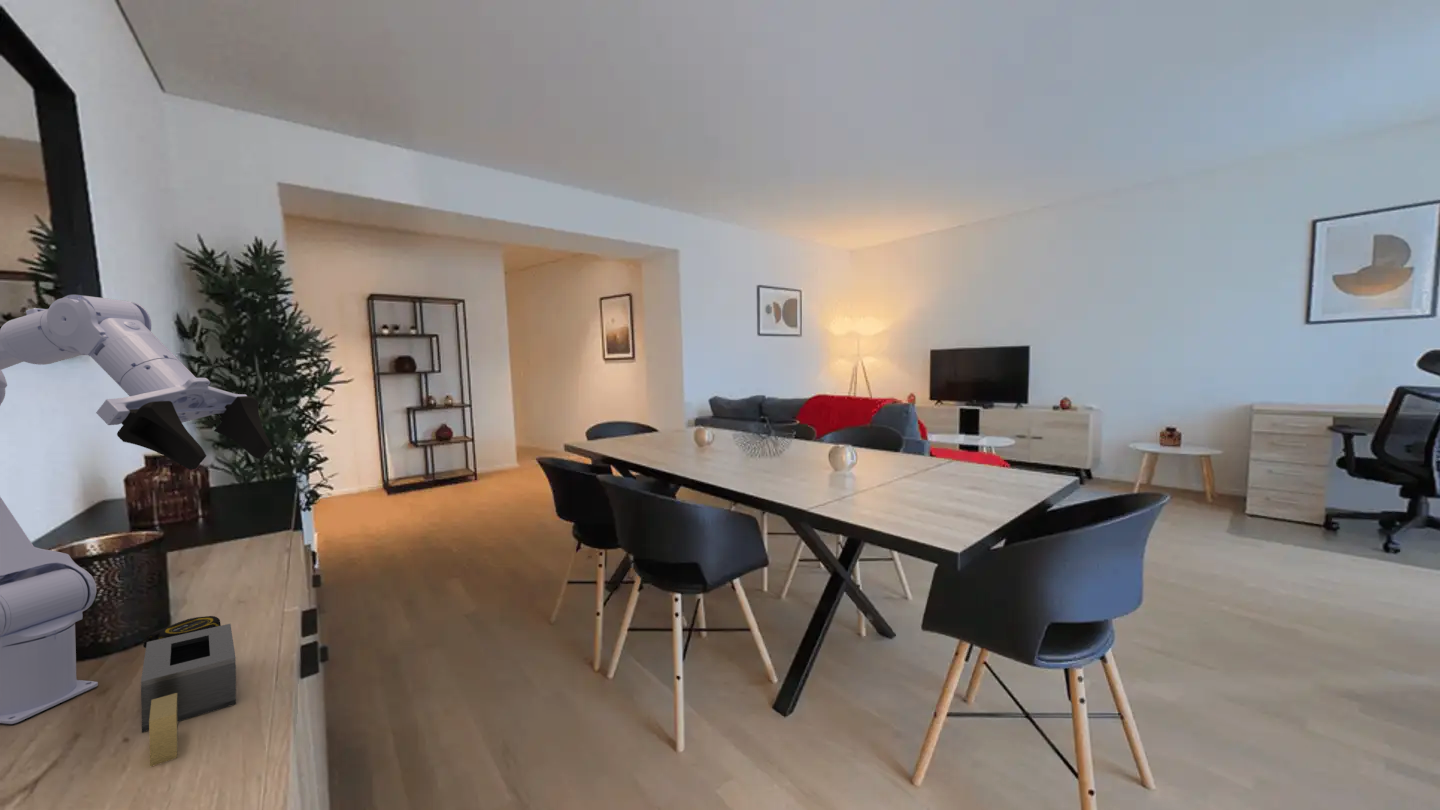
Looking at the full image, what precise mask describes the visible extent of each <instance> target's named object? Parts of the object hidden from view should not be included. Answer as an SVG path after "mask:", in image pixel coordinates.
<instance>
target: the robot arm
mask: <svg viewBox="0 0 1440 810" xmlns="http://www.w3.org/2000/svg"><path fill="white" fill-rule="evenodd" d="M25 313H26V315H23V316H20V317H16V318H12V319H10V320H8V321H7V322H5V323H3V325H2V326H1V328H0V406H1V405H2V403H3V402H4V399H5V397H6V388H7V387H8V383H7V379H6V377H5V374H4V373H3V370H5V369H7V368H10V367H13V366H15V365H18V364H21V363H24V362H25V363H28V364H32V365H40V366H41V365H42V366H43V365H50V364H51V365H52V364H55V363H58V362H62V361H65V360H69V359H71V358H72V359H73V358H76V357H79V356H80V357H81V356H88V357H90V358H92V359H93V360H94V361H95V362H96V364H98V365H99V367H100V368H101V369H102V370H103V371H104V372H105V373H106V374H107V375H108V377H110V378H111V379H112V380H113V381H114V382H115V383H116V384H117V386H119V387H120V388H121V389H122V390H123V391H124V393H126V394H127V395H128V396H125V397H118V398H106V399H105V400H104V402H102V404H101V405H100V407H99V408H98V410H97V411H96V412H95V414H97V415H98V417H99V418H100V419H101V420H102V421H103V422H104V423H106V424H107V426H115V425H120V424H122V426H121V427H120V428H119V430H118V431H117V433H116V436H117V437H118V438H119V439H120V440H121V441H122V442H123V443H128V444H132V445H135V446H140V447H142V448H146V449H147V450H150V451H154V452H156V453H157V454H159V455H162V456H164V457H165V458H167V459H170V460H171V461H173V462H175V463H176V464H178V465H179V466H182V467H183V468H185V469H188V470H189V471H190V470H196V469H197V468H198V467H199V466H200V464H201V463H202V462H203V461H204V460H205V459H206V457H207V454H206V452H205V451H204V449H203V448H202V446H201V445H200V444H199V443H198V441H196V439H195V438H194V437H193V436H192V435H191V434H190V432H189V431H188V430H187V428H186V427H185V425H184V423H188V422H190V421H193V420H198V419H202V418H205V417H206V418H207V417H208V416H212V415H216V414H218V415H219V416H220V417H219V420H220V421H221V422H220V423H218V425H217V426H216V427H215V429H213V431H214V432H215V433H218V434H220V435H222V436H225V437H227V438H229V439H230V440H232V441H233V442H235V443H236V444H238V445H239V446H240V447H241V448H243V450H244V451H245V452H247V453H248V454H250V456H252V457H254V458H256V459H257V460H259V459H263V458H265V456H266V455H267V454H268V453H269V452H270V450H272V448H273V446H272V444H271V442H270V439H269V438H268V436H267V434H266V431H265V430H264V427H263V424H262V420H261V417H260V411H259V401H258V400H257V399H256V398H255V397H254V396H252V395H250V396H249V395H247V394H245V393H244V394H243V393H242V394H240V393H239V394H238V393H234V392H230V391H226V390H223V389H220V388H217V387H213V386H210V384H211V381H210V380H209V379H208V378H207V377H196V376H195V375H194V374H193V373H192V372H191V370H189V369H188V368H187V367H186V366H185V364H183V362H181V360H180V359H179V358H178V357H177V356H175V355H174V353H173V352H172V351H171V350H169V349H168V347H167V346H166V345H165V344H163V342H161V340H160V339H159V338H158V337H156V335H155V334H154V333H153V332H152V320H151V317H150V314H149V313H148V311H147V309H145V308H144V307H143V306H142V305H141V304H138V303H137V302H133V301H129V300H122V299H114V298H113V299H112V298H105V297H97V296H91V295H90V296H89V295H80V294H67V295H65V296H64V297H62V298H58V299H55V300H54V301H53V302H52V303H51V304H50V306H49V308H37V307H34V308H29V309H27V310H25ZM96 594H97V583H96V581H95V579H94V577H93V575H92V574H90V573H89V571H87V570H86V569H84V568H83V567H81V566H79V565H78V564H77V563H76V562H75V561H74V560H73V559H72V558H71V556H70V554H68V553H65V552H60V551H55V550H49V549H44V548H40V547H36V546H34V545H33V543H32V541H31V540H30V539H29V537H28V535H27V534H26V533H25V531H24V530H23V528H22V527H21V526H20V524H19V523H18V521H17V520H16V517H15V516H14V515H13V513H12V512H11V510H10V509H9V508H8V506H7V504H6V503H5V501H4V500H3V499H2V497H1V496H0V724H5V725H7V724H8V725H13V724H14V725H15V724H17V723H19V722H22V721H24V720H25V719H28V718H30V717H33V716H35V715H37V714H39V713H42V712H43V711H45V710H48V709H50V708H53V707H54V706H57V705H59V704H60V703H63V702H65V701H68V700H70V699H72V698H74V697H76V696H79V695H81V694H83V693H85V692H87V691H90V690H92V689H94V688H96V687H97V686H99V682H98V681H92V680H82V679H77V653H76V652H77V651H76V649H77V648H76V646H77V645H76V622H79V621H81V620H83V616H84V615H83V612H85V611H86V610H88V609H89V608H90V607H92V605H93V603H94V601H95V599H96V596H97V595H96Z"/></svg>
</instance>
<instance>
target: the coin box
mask: <svg viewBox="0 0 1440 810" xmlns="http://www.w3.org/2000/svg"><path fill="white" fill-rule="evenodd" d="M235 651H236V650H235V645H234V639H233V632H232V624H231V623H227V624H223V625H222V624H221V626H217V627H213V628H208V629H204V630H199V631H195V632H190V633H186V634H181V635H177V636H172V637H167V638H163V639H158V640H154V641H149V642H147V645H146V648H145V652H144V659H143V667H142V673H141V678H140V697H141V698H140V703H141V704H140V706H141V709H140V710H141V713H140V715H141V733H144V731H145V732H149V731H148V730H149V718H150V709H151V700H153V699H156V698H160V697H164V696H167V695H171V694H174V693H177V712H178V722H182V721H185V720H188V719H191V718H195V717H197V716H201V715H204V714H208V713H211V712H214V711H218V710H220V709H224V708H228V707H230V706H235V705H236V704H237V681H236V680H237V675H236V674H237V672H236V671H237V667H236V662H237V661H236V659H237V658H236V652H235Z"/></svg>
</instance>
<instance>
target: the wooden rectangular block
mask: <svg viewBox="0 0 1440 810" xmlns="http://www.w3.org/2000/svg"><path fill="white" fill-rule="evenodd" d="M178 722H179V721H178V712H177V693H174V694H171V695H167V696H164V697H160V698H156V699H153V700H151V709H150V718H149V731H148V732H149V733H148V734H149V735H148V736H149V743H148V744H149V767H150V766H152V767H154V766H153V765H155V766H158V765H160V763H161V764H163V763H166V762H170V761H172V760H176V759H177V758H178V746H179V745H178V740H179V727H178V726H179V724H178ZM157 764H158V765H157Z"/></svg>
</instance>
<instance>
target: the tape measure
mask: <svg viewBox="0 0 1440 810" xmlns="http://www.w3.org/2000/svg"><path fill="white" fill-rule="evenodd" d="M217 626H222V624H221V620H220V618H219V617H217V616H214V615H206V616H197V617H191V618H187V619H184V620H181V621H177V622H175V623H173V624H171V625H168V626H166V627H164V628H162V629H158V630H156V631H154V632H151V633H149V634H148V635H147V636H146V638H145V640H142V643H143V648H145V649H146V645H147V642H149V641H154V640H158V639H163V638H167V637H172V636H177V635H181V634H186V633H190V632H195V631H199V630H204V629H208V628H213V627H217Z"/></svg>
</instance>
